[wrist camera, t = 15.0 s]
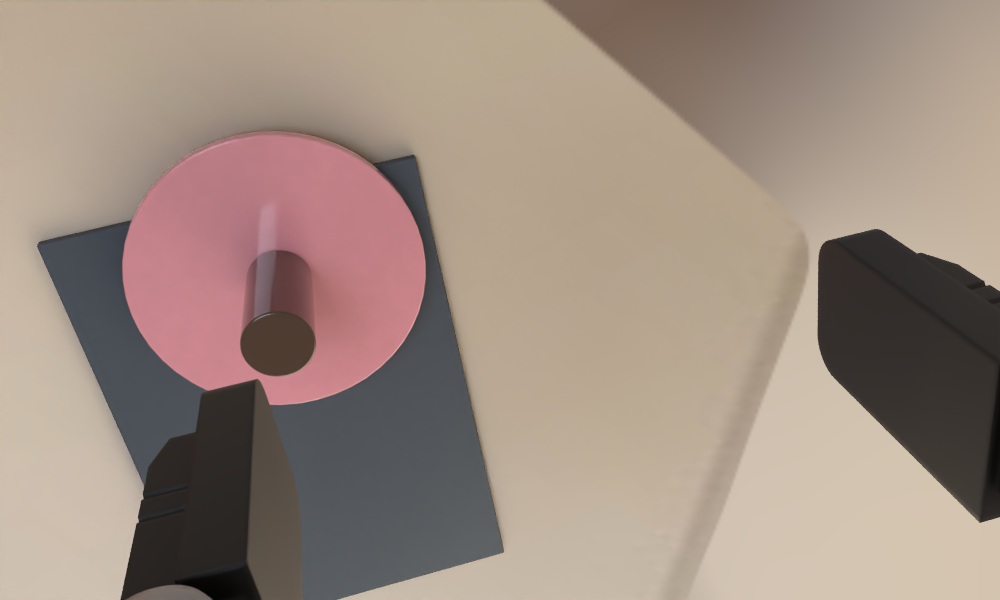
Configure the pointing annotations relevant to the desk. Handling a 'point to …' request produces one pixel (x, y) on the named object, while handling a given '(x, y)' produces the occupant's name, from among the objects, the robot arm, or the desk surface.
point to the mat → (318, 424)
